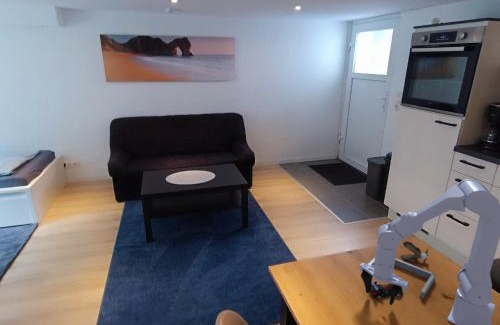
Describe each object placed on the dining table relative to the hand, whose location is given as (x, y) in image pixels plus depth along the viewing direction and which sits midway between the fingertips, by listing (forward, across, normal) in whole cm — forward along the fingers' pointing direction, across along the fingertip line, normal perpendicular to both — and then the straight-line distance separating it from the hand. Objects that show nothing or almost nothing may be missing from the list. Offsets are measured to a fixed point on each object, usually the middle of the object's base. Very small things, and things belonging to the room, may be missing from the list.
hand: (379, 297), depth 99 cm
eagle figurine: (+2, 0, +33) cm, 33 cm away
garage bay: (+2, 0, +18) cm, 18 cm away
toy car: (+2, 0, +6) cm, 7 cm away
